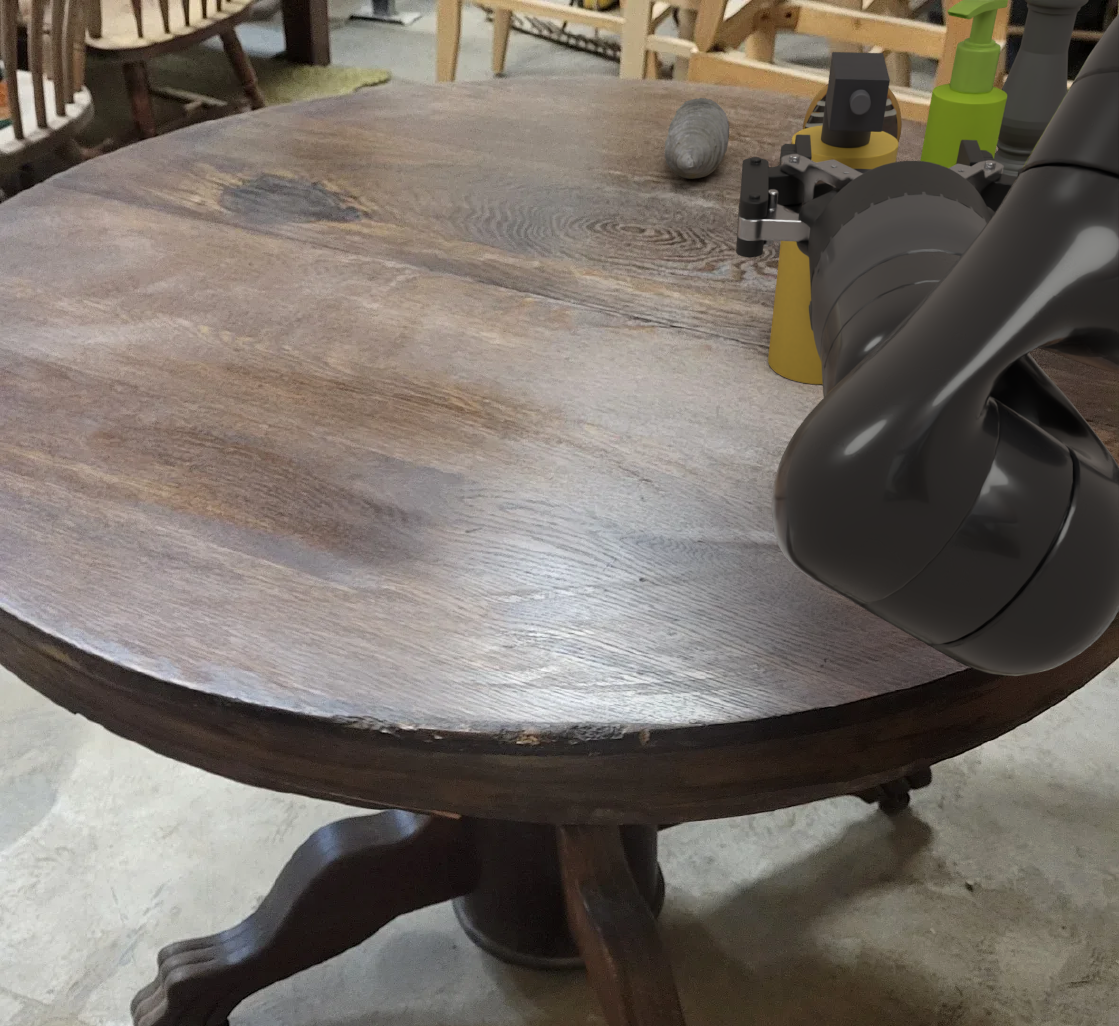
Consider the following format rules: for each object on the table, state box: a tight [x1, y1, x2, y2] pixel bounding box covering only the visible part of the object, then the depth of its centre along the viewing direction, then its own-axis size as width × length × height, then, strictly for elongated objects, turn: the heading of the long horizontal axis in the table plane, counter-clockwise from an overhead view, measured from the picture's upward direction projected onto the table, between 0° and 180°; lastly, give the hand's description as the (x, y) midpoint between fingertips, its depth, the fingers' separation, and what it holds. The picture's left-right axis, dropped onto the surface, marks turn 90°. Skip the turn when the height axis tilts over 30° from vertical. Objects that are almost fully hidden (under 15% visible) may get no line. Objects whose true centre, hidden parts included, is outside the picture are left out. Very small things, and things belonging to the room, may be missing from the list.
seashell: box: [663, 97, 730, 180], centre depth 122 cm, size 6×14×8 cm, turn 172°
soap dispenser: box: [919, 0, 1009, 168], centre depth 101 cm, size 6×7×20 cm
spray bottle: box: [767, 51, 899, 385], centre depth 83 cm, size 7×11×22 cm, turn 172°
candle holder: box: [994, 0, 1089, 176], centre depth 105 cm, size 6×6×25 cm
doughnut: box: [802, 83, 903, 143], centre depth 119 cm, size 9×4×10 cm, turn 77°
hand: (881, 157), depth 61 cm, fingers open, 7 cm apart
